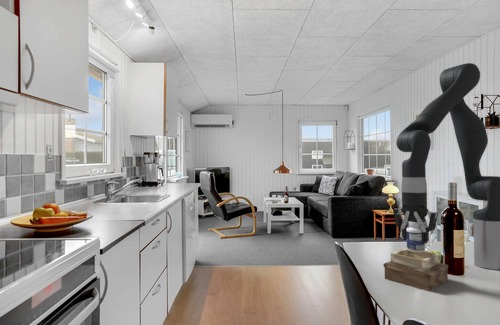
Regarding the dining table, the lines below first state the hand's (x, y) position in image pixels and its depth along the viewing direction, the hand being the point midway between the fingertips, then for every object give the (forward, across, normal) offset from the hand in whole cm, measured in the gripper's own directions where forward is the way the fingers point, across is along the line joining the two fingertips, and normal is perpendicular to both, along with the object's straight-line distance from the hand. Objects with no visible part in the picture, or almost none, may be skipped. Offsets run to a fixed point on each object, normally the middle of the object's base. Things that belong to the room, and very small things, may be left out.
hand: (415, 241), depth 106 cm
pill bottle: (+3, 0, 0) cm, 3 cm away
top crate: (+8, 0, 0) cm, 8 cm away
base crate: (+13, 0, 0) cm, 13 cm away
